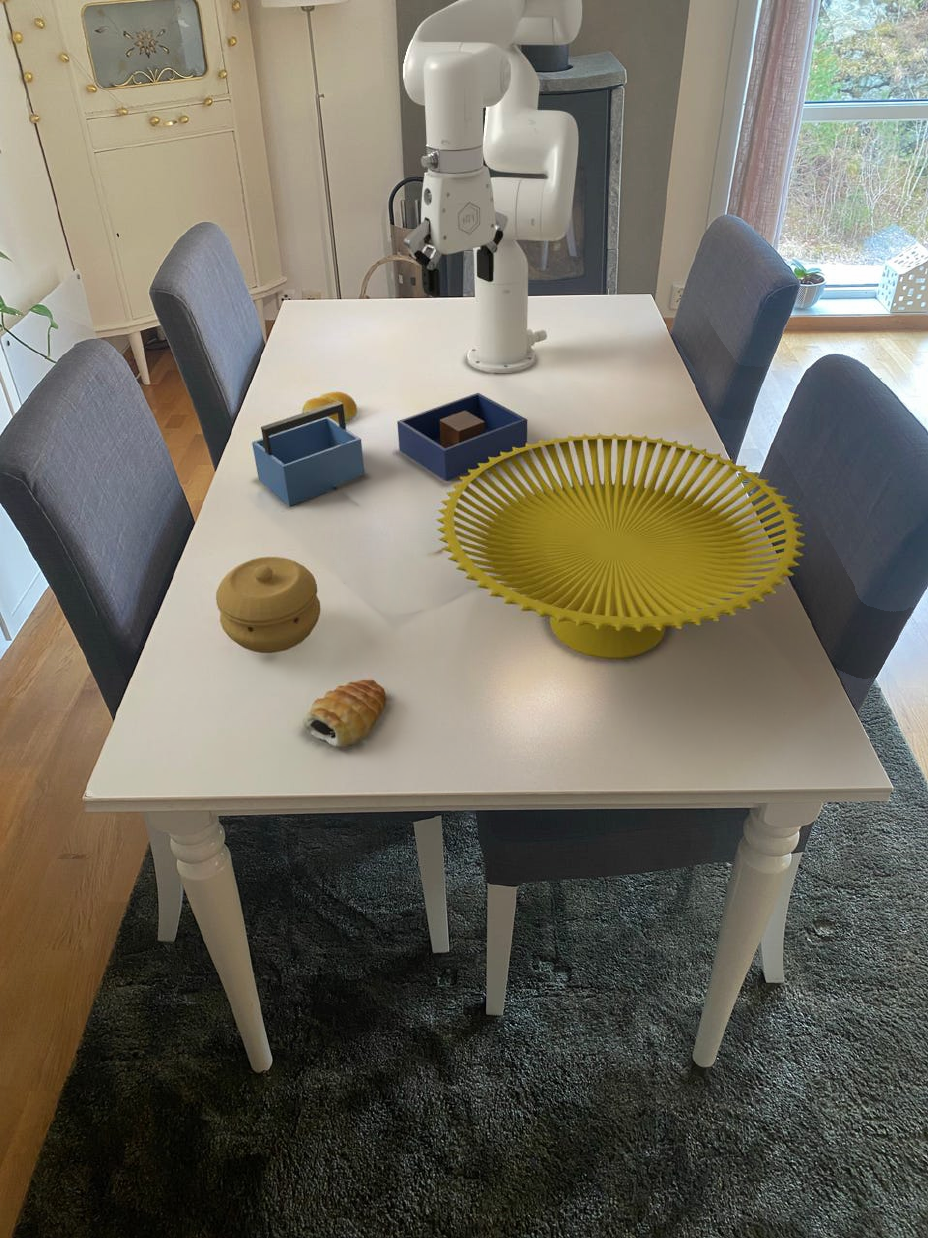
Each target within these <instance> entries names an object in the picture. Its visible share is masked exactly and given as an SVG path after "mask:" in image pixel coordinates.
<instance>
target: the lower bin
mask: <svg viewBox="0 0 928 1238" xmlns="http://www.w3.org/2000/svg"><path fill="white" fill-rule="evenodd" d="M463 411H467V412H469V413H470V414H472V415H474V416H476V417H477V418H479V419H481V420H483V421H484V422H485V434H482V435H479V436H477V437H474V438H472V439H469V440H466V441H464V442H461V443H458V444H456V445H453V446H450V447H448V448H444V447H442V446H441V440H440V419H443V418H446V417H449V416H451V415H454V414H457V413H460V412H463ZM396 425H397V435H398V449H399V452H401V453H402V454H404V455H405V456H406V457H409V458H410V459H412V461H415V462H416V463H417V464H419V465H421V466H422V467H424V468H425V469H427V470H428V471H430V472H431V473H433V474H434V475H436V476H437V477H438V478H440V479H442V480H443V481H445V482H447V481H449V480H450V481H451V480H453V479H456V478H457V477H461V476H463V475H464V474H468V473H470V472H469V471H468V469H469V470H475V469H477V468H480V466H479V465H478V463H488V462H490V460H489V458H488V457H494V458H496V457H499V456H501V454H500V452H505V453H508V452H512V451H513V449H512V447H515V448H522V447H526V443H527V444H528V419H527V418H526V417H524V416H522V415H520V414H518V413H517V412H515V411H513V410H511V409H509V408H507V407H506V406H504V405H501V404H500V403H498V402H496V401H494V400H493V399H490V398H489V397H487V396H485V395H483V394H482V393H480V392H476V393H473V394H470V395H468V396H464V397H462V398H459V399H456V400H453V401H451V402H448V403H444V404H442V405H440V406H436V407H434V408H433V407H432V408H430V409H427V410H425V411H422V412H419V413H416V414H413V415H411V416H407V417H405V418H402V419H400V420H397V424H396Z"/></svg>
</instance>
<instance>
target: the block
mask: <svg viewBox="0 0 928 1238" xmlns="http://www.w3.org/2000/svg"><path fill="white" fill-rule="evenodd" d="M482 434H485V422H484V421H483V420H481V419H479V418H477V417H476V416H474V415H472V414H470V413H469V412H467V411H463V412H460V413H457V414H454V415H451V416H449V417H446V418H443V419H440V440H441V446H442V447H444V448H448V447H450V446H453V445H456V444H458V443H461V442H464V441H466V440H469V439H472V438H474V437H477V436H479V435H482Z"/></svg>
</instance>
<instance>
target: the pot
mask: <svg viewBox="0 0 928 1238" xmlns="http://www.w3.org/2000/svg"><path fill="white" fill-rule="evenodd" d="M215 593H216V594H215V600H216V606H217V609H218V611H219V612H220V616H219V622H220V625H221V628H222V630H223V632H224V633H225V634H226V635H227V637H228V638H230V640H231V641H233V642H234V643H236V644H237V645H239V646H240V647H242V648H243V649H245V650H248V651H250V652H254V653H259V654H275V653H280V652H284V651H287V650H291V649H292V648H295V647H296V646H298V645H300V644H301V643H303V642H304V641H305V640H306V639H307V638H308V637H309V636H310V635H311V633H312V632H313V630H314V628H315V627H316V625H317V623H318V621H319V618H320V614H321V601H320V598H319V597H318V584H317V580H316V578H315V576H314V574H313V573H312V572H311V571H310V570H309V569H308V568H307V567H305V566H304V565H302V564H301V563H299V562H297V561H296V560H292V559H290V558H286V557H280V556H263V557H257V558H254V559H250V560H247V561H245V562H243V563H240V564H239V565H237V566H235V567H234V568H232V569H231V570H230V571H229V572H228V573H227V574H226V575H225V576H224V577H223V579H221V582H220V583H219V585H218V587H217V589H216V592H215Z"/></svg>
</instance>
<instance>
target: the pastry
mask: <svg viewBox="0 0 928 1238" xmlns="http://www.w3.org/2000/svg"><path fill="white" fill-rule="evenodd" d="M386 705H387V695H386V691H385V688H384V687H383V686H382V685H380V684H378V683H377V681H376V680H374V679H360V680H357V681H349V682H348V683H347V684H345V685H338V686H337V687H336V688H335V689H334V690H327V691H326V693H325V694H324V697H323V698H321V697H320V698H316V699H315V700H314V702H313V703H312V705H311V707H310V710H309V711H307V714H306V716H305V717H304V718H303V721H302V723H303V726H304V728H306V729H307V730H308V732H309V733H310V735H311V736H313V737H315V739H319V740H322V741H324V742H325V741H326V742H327V743H328V744H329V745H331V746H333V747H336V748H341V747H342V748H343V747H345V746H346V747H349V746H352V745H355V744H357V743H359V742H360V741H361V740H362V739H363V738H364V737H365V736H368V734H369V733H370V732H371V730H372V729H373V727H374V726H375V725H376V723H377V722H378V720H379V719H380V717H381V716H382V714H383V712H384V711H385V708H386Z"/></svg>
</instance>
